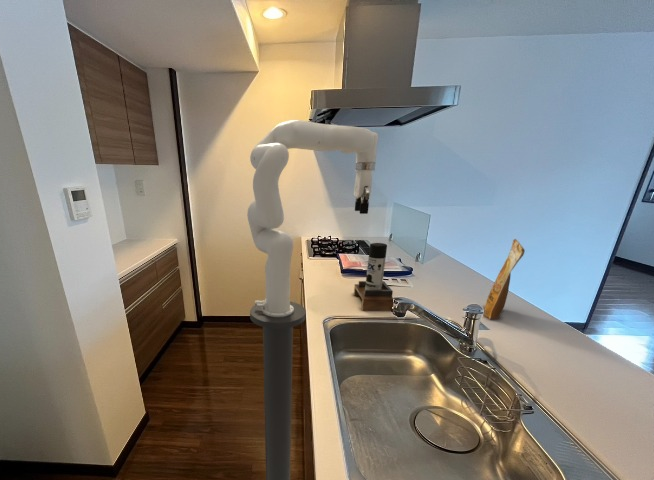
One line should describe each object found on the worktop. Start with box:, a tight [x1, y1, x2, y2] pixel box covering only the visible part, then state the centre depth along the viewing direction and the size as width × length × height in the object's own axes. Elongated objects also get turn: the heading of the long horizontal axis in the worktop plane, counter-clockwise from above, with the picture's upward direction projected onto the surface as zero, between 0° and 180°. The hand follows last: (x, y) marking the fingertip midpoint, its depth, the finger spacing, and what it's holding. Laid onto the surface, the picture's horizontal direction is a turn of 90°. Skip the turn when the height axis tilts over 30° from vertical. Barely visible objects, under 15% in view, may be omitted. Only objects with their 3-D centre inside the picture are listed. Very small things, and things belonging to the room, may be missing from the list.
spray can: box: [365, 242, 388, 290], centre depth 130 cm, size 7×7×20 cm
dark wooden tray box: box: [353, 280, 395, 312], centre depth 135 cm, size 12×18×7 cm, turn 177°
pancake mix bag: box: [484, 238, 525, 320], centre depth 119 cm, size 7×19×28 cm, turn 145°
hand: (360, 212), depth 132 cm, fingers open, 9 cm apart
